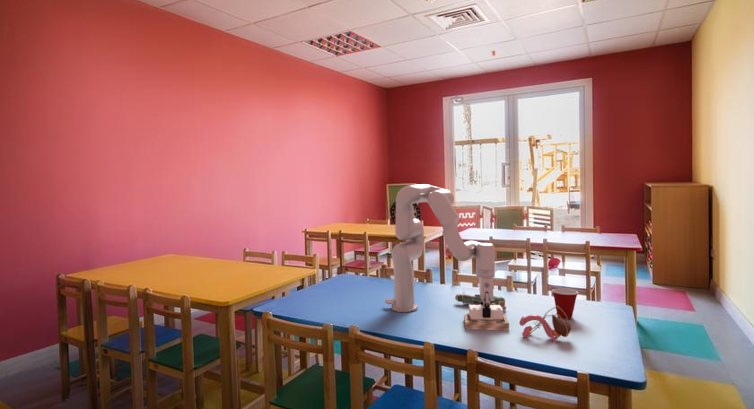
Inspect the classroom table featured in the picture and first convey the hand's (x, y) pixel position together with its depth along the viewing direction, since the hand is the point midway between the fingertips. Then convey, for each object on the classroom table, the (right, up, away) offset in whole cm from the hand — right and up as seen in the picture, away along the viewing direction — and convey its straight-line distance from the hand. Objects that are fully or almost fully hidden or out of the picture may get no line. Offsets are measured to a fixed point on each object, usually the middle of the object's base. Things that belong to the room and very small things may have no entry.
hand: (485, 314), depth 179 cm
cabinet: (0, -5, 0) cm, 5 cm away
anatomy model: (+19, -6, -14) cm, 25 cm away
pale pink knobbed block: (0, -1, 0) cm, 1 cm away
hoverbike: (+3, -3, +24) cm, 24 cm away
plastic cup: (+37, -4, +8) cm, 38 cm away
